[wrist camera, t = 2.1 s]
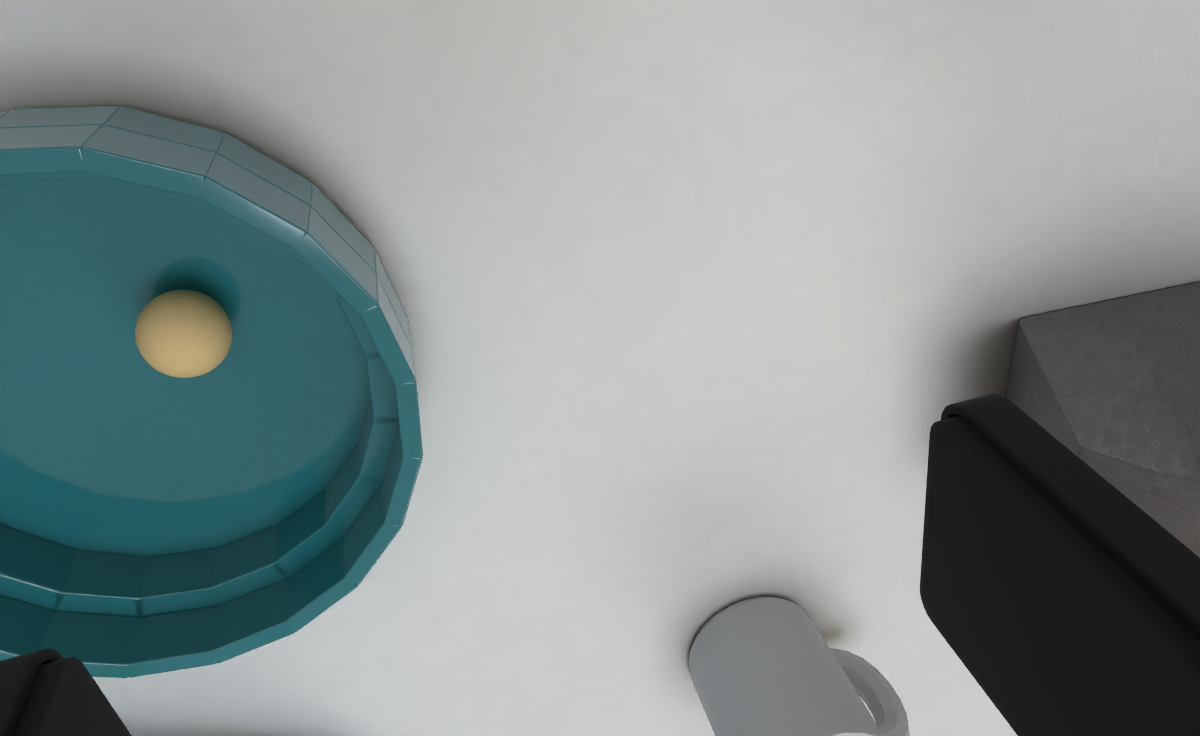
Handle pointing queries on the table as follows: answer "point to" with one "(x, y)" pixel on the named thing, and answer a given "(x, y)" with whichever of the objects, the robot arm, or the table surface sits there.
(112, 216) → the bowl
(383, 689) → the table surface
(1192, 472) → the planter
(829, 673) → the cup
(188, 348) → the tan ball
